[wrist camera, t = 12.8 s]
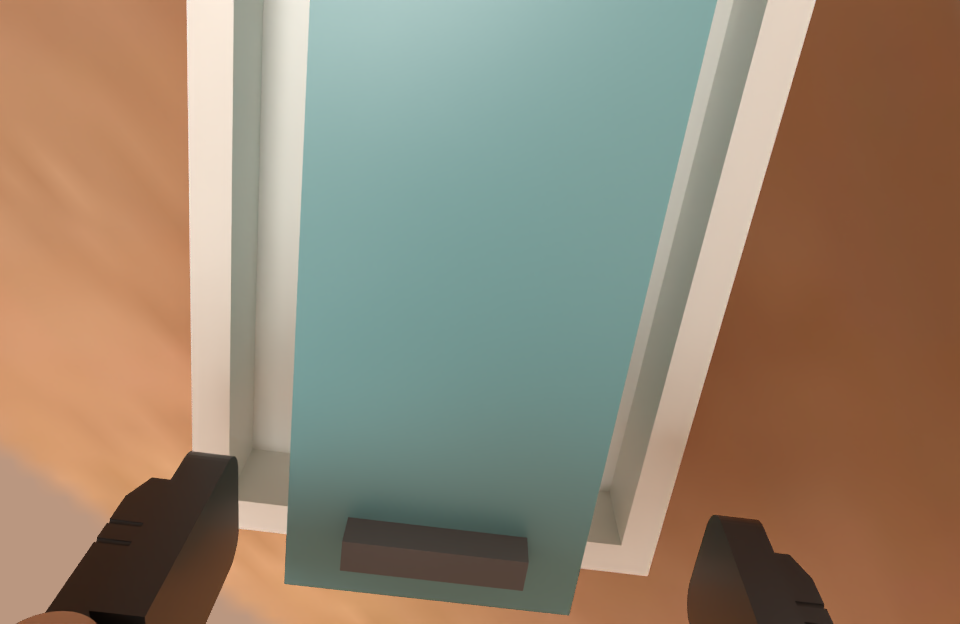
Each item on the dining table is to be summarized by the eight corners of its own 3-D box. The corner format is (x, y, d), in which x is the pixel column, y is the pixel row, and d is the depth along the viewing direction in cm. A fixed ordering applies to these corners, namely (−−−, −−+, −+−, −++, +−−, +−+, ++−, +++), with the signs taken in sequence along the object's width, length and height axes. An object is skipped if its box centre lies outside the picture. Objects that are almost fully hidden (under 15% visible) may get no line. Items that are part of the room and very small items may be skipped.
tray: (847, -305, 14) (919, -354, 12) (630, 505, 21) (647, 576, 19) (234, -408, 14) (180, -482, 11) (226, 457, 21) (193, 523, 19)
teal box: (670, -190, 14) (801, -284, 8) (547, 428, 20) (572, 642, 14) (389, -234, 14) (313, -365, 8) (342, 403, 19) (275, 610, 13)
